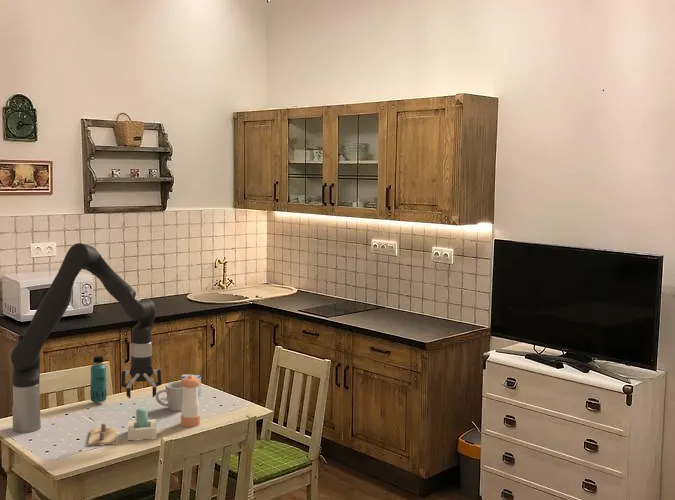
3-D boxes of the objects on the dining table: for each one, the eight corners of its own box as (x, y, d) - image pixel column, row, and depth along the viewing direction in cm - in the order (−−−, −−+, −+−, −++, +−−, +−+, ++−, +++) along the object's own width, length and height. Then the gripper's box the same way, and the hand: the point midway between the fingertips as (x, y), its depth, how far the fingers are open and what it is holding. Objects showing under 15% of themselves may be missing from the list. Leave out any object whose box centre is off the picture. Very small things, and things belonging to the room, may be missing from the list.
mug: (195, 409, 306) (195, 385, 305) (160, 415, 297) (160, 391, 296) (185, 402, 314) (185, 379, 313) (151, 408, 306) (150, 384, 305)
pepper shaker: (199, 426, 286) (199, 378, 284) (180, 427, 285) (180, 378, 283) (200, 420, 293) (200, 372, 291) (181, 420, 292) (181, 373, 290)
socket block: (127, 440, 270) (127, 430, 270) (128, 431, 280) (128, 420, 279) (156, 438, 272) (156, 428, 272) (156, 429, 282) (156, 419, 282)
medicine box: (180, 395, 324) (180, 376, 323) (184, 392, 328) (183, 373, 327) (197, 397, 322) (197, 377, 321) (201, 393, 327) (201, 374, 326)
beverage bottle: (87, 403, 311) (86, 356, 309) (102, 399, 316) (101, 353, 314) (95, 406, 307) (94, 359, 304) (110, 403, 311) (109, 356, 309)
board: (88, 446, 264) (88, 436, 264) (91, 431, 279) (91, 422, 278) (114, 444, 267) (114, 434, 266) (116, 429, 281) (116, 420, 281)
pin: (136, 436, 274) (136, 412, 273) (136, 432, 277) (136, 408, 276) (147, 435, 275) (147, 411, 274) (147, 431, 278) (147, 408, 277)
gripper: (161, 351, 278) (161, 393, 279) (121, 352, 274) (121, 394, 276) (161, 356, 270) (161, 399, 272) (120, 357, 267) (120, 401, 269)
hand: (141, 397), depth 274 cm, fingers open, 8 cm apart
